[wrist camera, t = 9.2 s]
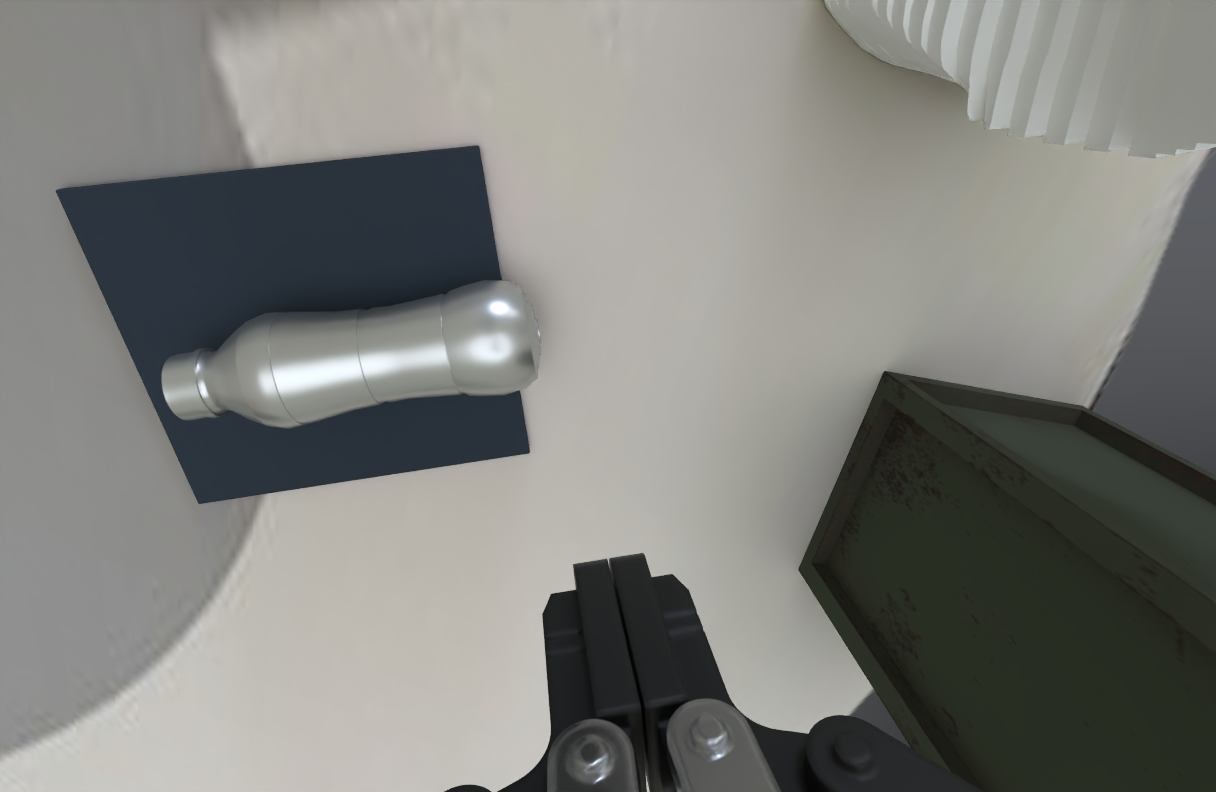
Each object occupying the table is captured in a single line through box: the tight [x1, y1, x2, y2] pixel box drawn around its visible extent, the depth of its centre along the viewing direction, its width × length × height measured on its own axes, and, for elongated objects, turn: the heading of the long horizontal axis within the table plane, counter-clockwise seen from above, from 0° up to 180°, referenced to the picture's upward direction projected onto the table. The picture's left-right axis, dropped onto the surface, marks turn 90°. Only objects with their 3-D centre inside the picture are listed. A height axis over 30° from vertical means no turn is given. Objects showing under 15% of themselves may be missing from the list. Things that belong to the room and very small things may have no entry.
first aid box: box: [799, 371, 1216, 792], centre depth 33 cm, size 18×18×40 cm
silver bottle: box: [162, 280, 541, 429], centre depth 35 cm, size 6×7×20 cm
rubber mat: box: [56, 146, 530, 504], centre depth 38 cm, size 20×22×1 cm
